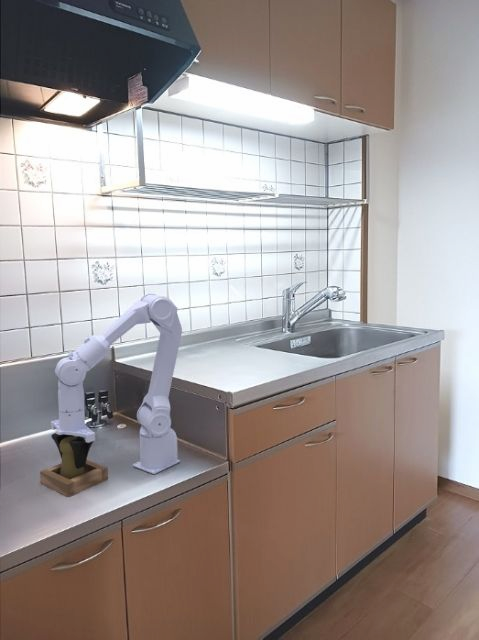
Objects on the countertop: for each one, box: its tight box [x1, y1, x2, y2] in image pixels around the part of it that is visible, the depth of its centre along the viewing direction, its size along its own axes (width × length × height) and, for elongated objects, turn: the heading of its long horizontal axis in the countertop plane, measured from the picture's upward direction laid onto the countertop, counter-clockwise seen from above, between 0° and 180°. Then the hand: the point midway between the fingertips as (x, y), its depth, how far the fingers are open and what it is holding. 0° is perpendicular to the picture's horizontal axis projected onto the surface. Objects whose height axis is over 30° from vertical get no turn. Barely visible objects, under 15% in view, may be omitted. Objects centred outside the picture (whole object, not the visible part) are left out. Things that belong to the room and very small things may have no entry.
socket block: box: [39, 459, 109, 498], centre depth 119 cm, size 11×11×3 cm
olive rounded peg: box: [60, 436, 85, 480], centre depth 118 cm, size 6×6×11 cm
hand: (73, 463), depth 119 cm, fingers closed on olive rounded peg, 5 cm apart
